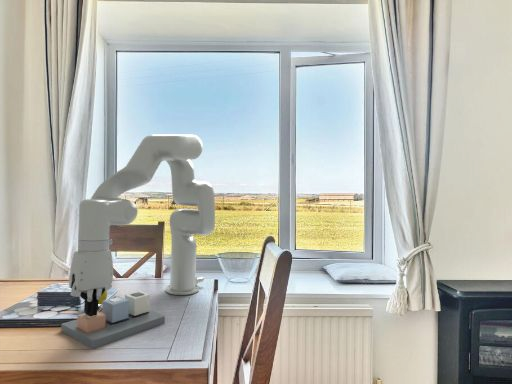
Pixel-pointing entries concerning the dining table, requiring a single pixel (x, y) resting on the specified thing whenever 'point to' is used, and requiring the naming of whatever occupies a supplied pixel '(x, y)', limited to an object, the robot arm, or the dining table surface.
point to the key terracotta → (91, 322)
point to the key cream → (138, 303)
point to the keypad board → (113, 329)
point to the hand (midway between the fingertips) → (91, 314)
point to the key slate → (115, 309)
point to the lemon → (102, 297)
